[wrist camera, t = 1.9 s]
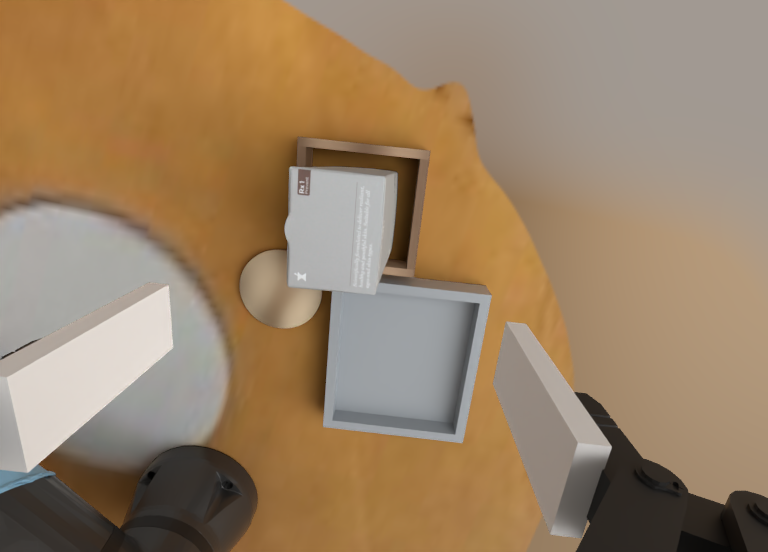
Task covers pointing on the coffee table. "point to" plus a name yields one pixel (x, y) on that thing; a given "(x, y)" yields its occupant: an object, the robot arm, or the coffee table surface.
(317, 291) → the curved potato chip
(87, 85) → the coffee table surface
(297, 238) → the skincare box
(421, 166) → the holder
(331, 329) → the tray
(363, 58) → the coffee table surface
